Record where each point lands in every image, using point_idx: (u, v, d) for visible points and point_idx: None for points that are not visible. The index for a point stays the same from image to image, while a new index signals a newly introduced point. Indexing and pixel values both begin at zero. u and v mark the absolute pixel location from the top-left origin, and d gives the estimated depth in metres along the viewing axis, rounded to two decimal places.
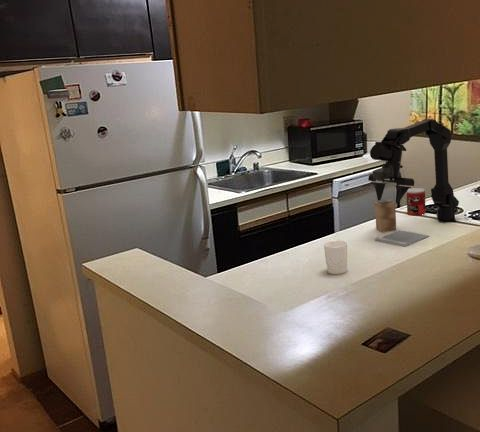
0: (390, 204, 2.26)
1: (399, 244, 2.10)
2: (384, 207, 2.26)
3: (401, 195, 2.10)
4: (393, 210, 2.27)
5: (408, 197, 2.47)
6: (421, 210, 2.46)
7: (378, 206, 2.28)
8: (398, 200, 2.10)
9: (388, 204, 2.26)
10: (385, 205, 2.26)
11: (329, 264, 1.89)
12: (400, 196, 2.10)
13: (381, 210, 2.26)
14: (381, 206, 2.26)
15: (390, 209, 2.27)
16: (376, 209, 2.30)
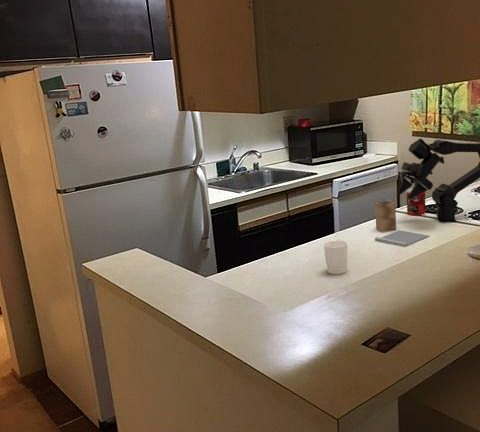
0: (390, 204, 2.26)
1: (399, 244, 2.10)
2: (384, 207, 2.26)
3: (415, 193, 2.24)
4: (393, 210, 2.27)
5: None
6: (421, 210, 2.46)
7: (378, 206, 2.28)
8: (410, 196, 2.24)
9: (388, 204, 2.26)
10: (385, 205, 2.26)
11: (329, 264, 1.89)
12: (414, 193, 2.24)
13: (381, 210, 2.26)
14: (381, 206, 2.26)
15: (390, 209, 2.27)
16: (376, 209, 2.30)
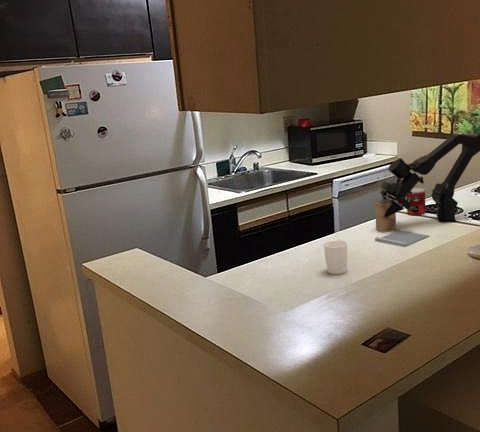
0: (389, 204, 2.26)
1: (399, 244, 2.10)
2: (384, 207, 2.26)
3: (392, 211, 2.26)
4: None
5: (408, 197, 2.47)
6: (421, 210, 2.46)
7: (378, 206, 2.28)
8: (387, 214, 2.26)
9: (388, 204, 2.26)
10: (385, 205, 2.26)
11: (329, 264, 1.89)
12: (391, 212, 2.26)
13: (381, 210, 2.26)
14: (381, 206, 2.26)
15: None
16: (376, 209, 2.30)
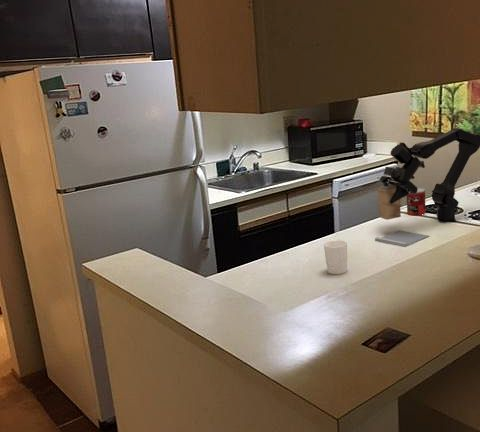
0: (394, 190, 2.20)
1: (399, 244, 2.10)
2: (389, 193, 2.19)
3: (397, 197, 2.19)
4: None
5: (408, 197, 2.47)
6: (421, 210, 2.46)
7: (383, 192, 2.20)
8: (393, 200, 2.20)
9: (393, 190, 2.20)
10: (390, 191, 2.19)
11: (329, 264, 1.89)
12: (396, 197, 2.19)
13: (386, 196, 2.19)
14: (386, 192, 2.19)
15: None
16: (379, 196, 2.23)
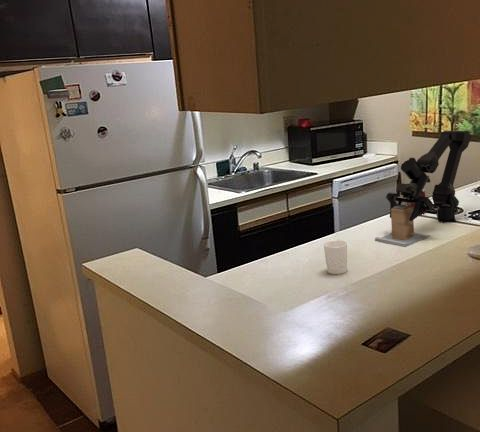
0: (409, 209, 2.14)
1: (399, 244, 2.10)
2: (405, 213, 2.13)
3: (416, 214, 2.12)
4: None
5: None
6: None
7: (398, 213, 2.13)
8: (412, 218, 2.12)
9: (408, 209, 2.14)
10: (406, 211, 2.13)
11: (329, 264, 1.89)
12: (415, 215, 2.12)
13: (403, 216, 2.12)
14: (403, 212, 2.12)
15: (409, 215, 2.15)
16: (394, 216, 2.15)
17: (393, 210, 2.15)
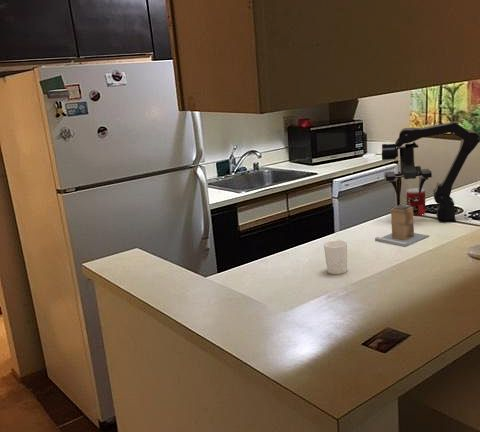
0: (409, 209, 2.14)
1: (399, 244, 2.10)
2: (405, 213, 2.13)
3: None
4: (411, 215, 2.15)
5: (408, 197, 2.47)
6: (421, 210, 2.46)
7: (398, 213, 2.13)
8: None
9: (408, 209, 2.14)
10: (406, 211, 2.13)
11: (329, 264, 1.89)
12: None
13: (403, 216, 2.12)
14: (403, 212, 2.12)
15: (409, 215, 2.15)
16: (394, 216, 2.15)
17: (393, 210, 2.15)
